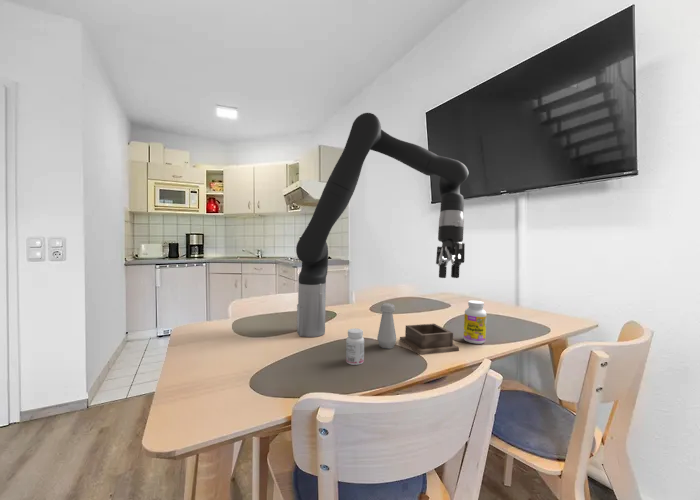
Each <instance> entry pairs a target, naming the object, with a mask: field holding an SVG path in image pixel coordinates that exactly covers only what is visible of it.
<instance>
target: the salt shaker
mask: <svg viewBox="0 0 700 500" xmlns="http://www.w3.org/2000/svg"><path fill="white" fill-rule="evenodd" d="M379 308H380V311H381V317H380V323H379V327H378V331H377V332H378V333H377V337H376V338H377V343H378V346H379V347H381V348H382V349H388V350H389V349H393V348H394V347H395V344H396V343H397V332H396V327H395V326H396V325H395V321H394V313H395V311H396V307H395V304H393V303H391V302H390V303H389V302H386V303H382V304H381V305H380V307H379Z"/></svg>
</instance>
